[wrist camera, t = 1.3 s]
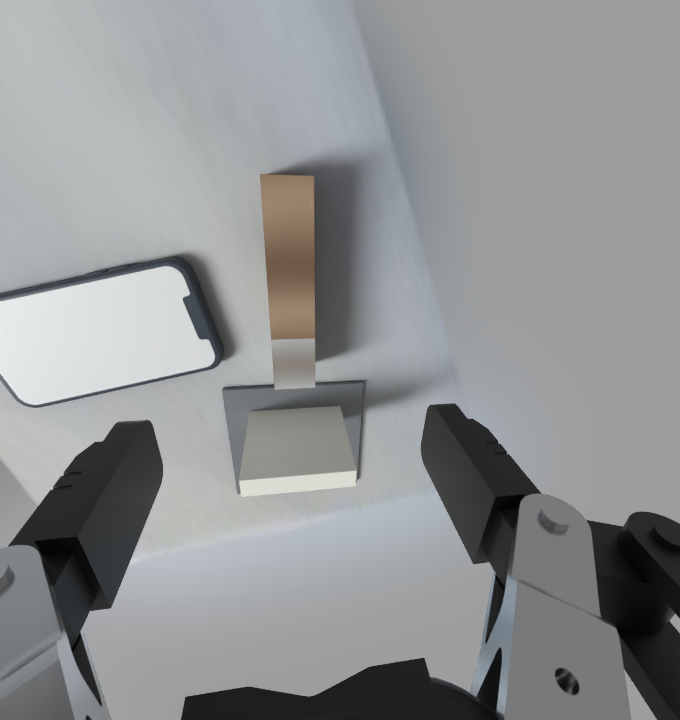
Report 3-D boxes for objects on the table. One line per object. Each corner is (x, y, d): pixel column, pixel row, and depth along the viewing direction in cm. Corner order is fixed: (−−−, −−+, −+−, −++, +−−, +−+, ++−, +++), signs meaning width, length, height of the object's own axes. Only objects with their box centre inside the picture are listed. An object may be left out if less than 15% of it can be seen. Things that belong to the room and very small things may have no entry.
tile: (249, 411, 30) (238, 480, 23) (340, 405, 31) (356, 470, 24) (251, 427, 31) (241, 498, 24) (339, 421, 32) (355, 488, 25)
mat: (223, 388, 29) (222, 390, 29) (362, 381, 31) (363, 383, 31) (238, 490, 35) (237, 493, 35) (356, 480, 37) (356, 482, 36)
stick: (263, 175, 23) (260, 174, 19) (309, 176, 23) (314, 175, 20) (275, 364, 29) (274, 389, 26) (311, 362, 30) (315, 387, 26)
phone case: (36, 402, 28) (229, 359, 29) (23, 413, 27) (226, 368, 27) (-38, 299, 24) (188, 250, 25) (-59, 306, 23) (182, 254, 23)
